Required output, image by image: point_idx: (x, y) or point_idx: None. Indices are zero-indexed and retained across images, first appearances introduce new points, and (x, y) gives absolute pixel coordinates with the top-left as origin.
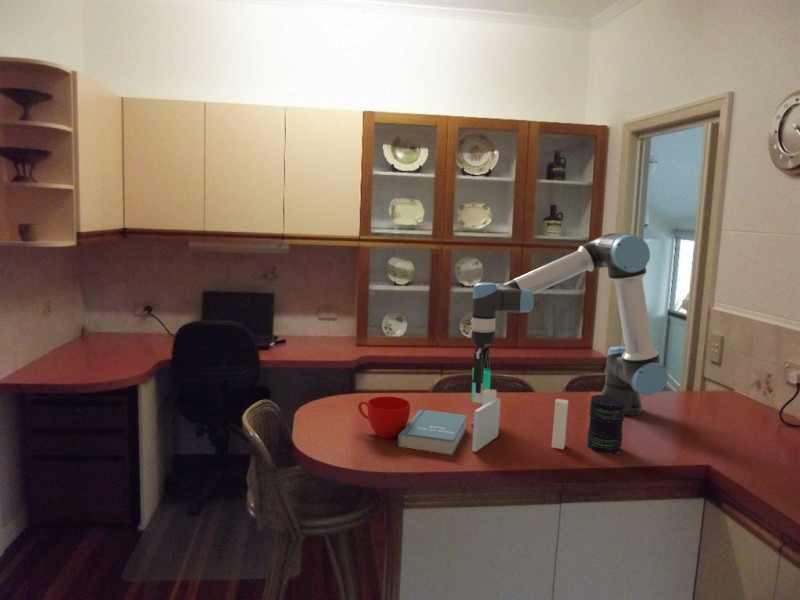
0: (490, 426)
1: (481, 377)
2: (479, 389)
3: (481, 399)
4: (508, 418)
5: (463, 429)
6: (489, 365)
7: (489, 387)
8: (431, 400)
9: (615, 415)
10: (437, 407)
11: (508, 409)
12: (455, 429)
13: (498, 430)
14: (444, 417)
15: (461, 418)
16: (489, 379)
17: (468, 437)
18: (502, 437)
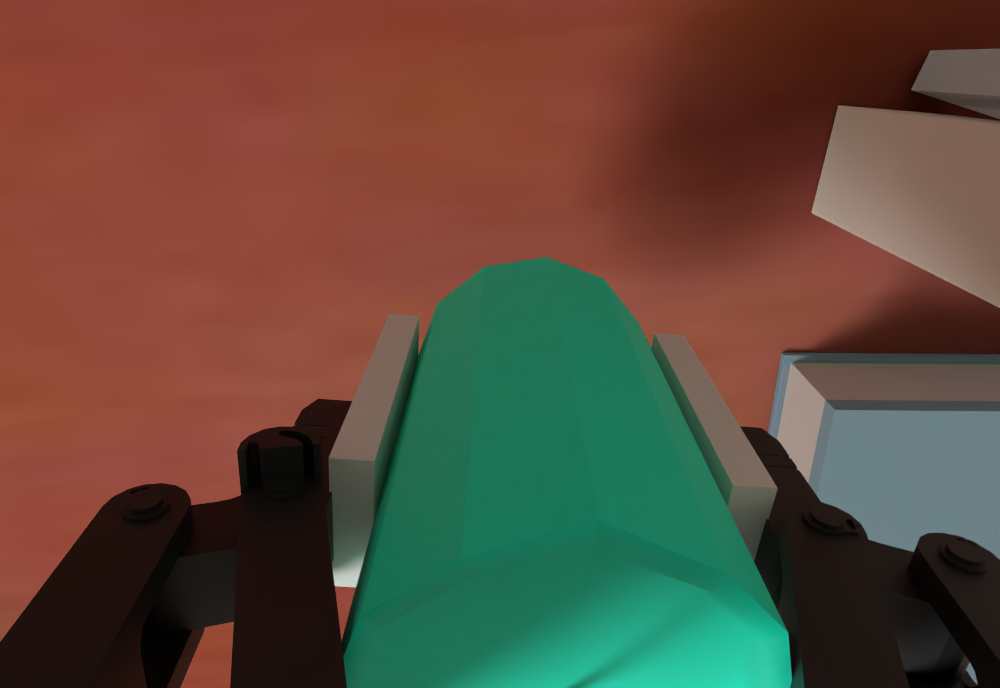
0: None
1: (968, 608)
2: (792, 468)
3: (692, 361)
4: (325, 9)
5: (903, 375)
6: (22, 622)
7: (576, 339)
8: (200, 685)
9: None
10: (340, 624)
11: (23, 45)
12: None
13: (965, 49)
14: None
15: (938, 444)
16: (610, 417)
17: (981, 307)
18: (932, 2)
